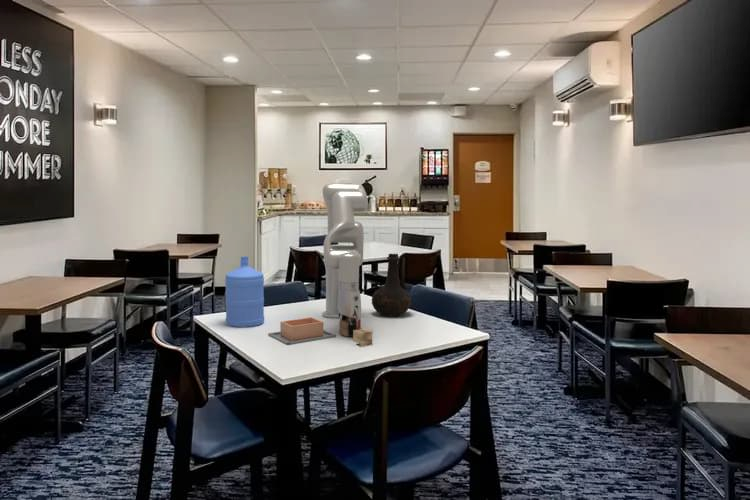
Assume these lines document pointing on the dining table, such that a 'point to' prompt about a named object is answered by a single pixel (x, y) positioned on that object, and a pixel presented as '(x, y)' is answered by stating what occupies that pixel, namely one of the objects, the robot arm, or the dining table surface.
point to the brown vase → (391, 292)
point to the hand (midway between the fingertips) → (348, 332)
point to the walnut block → (345, 327)
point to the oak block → (362, 337)
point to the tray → (278, 337)
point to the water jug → (244, 296)
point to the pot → (302, 329)
